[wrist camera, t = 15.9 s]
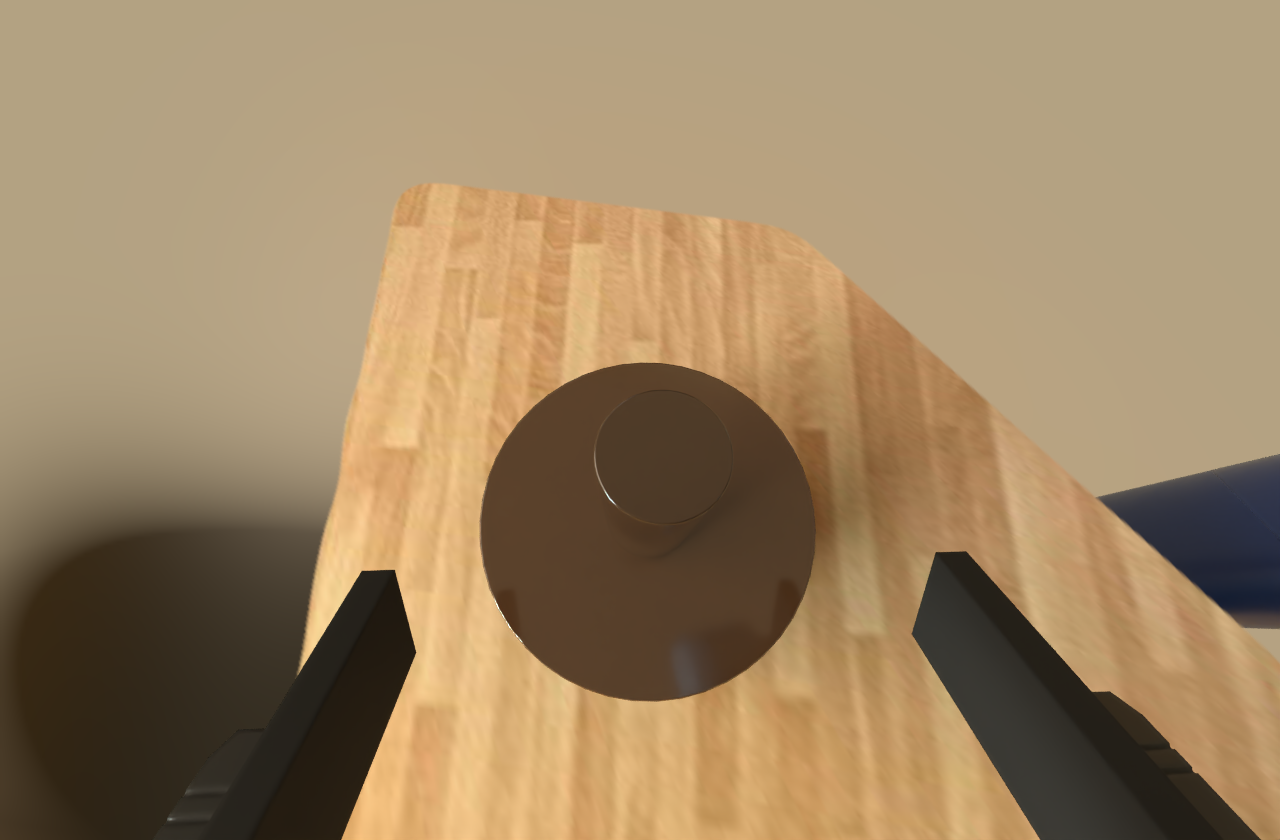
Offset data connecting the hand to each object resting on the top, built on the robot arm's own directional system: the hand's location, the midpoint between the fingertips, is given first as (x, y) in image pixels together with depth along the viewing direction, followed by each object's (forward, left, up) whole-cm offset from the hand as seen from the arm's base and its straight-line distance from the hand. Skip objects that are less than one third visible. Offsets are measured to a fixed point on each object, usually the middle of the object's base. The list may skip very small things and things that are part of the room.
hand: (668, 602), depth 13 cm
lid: (+3, -2, -7) cm, 7 cm away
